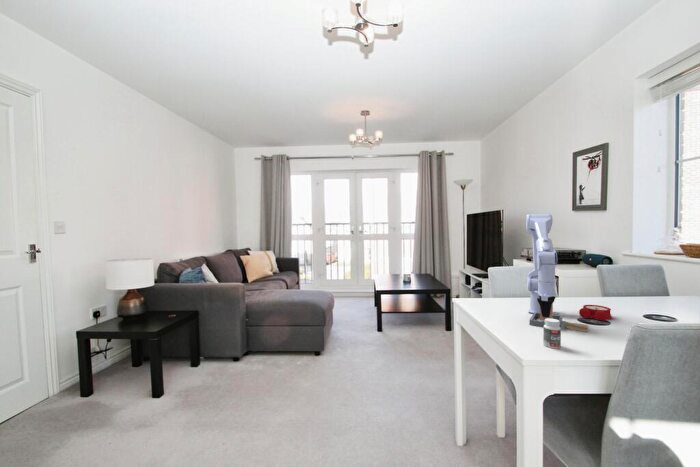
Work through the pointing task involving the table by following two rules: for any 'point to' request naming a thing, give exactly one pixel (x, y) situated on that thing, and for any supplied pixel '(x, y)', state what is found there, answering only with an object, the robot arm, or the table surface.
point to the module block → (549, 315)
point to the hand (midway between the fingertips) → (546, 315)
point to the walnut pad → (576, 327)
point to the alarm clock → (595, 312)
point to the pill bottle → (552, 333)
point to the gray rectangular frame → (542, 323)
